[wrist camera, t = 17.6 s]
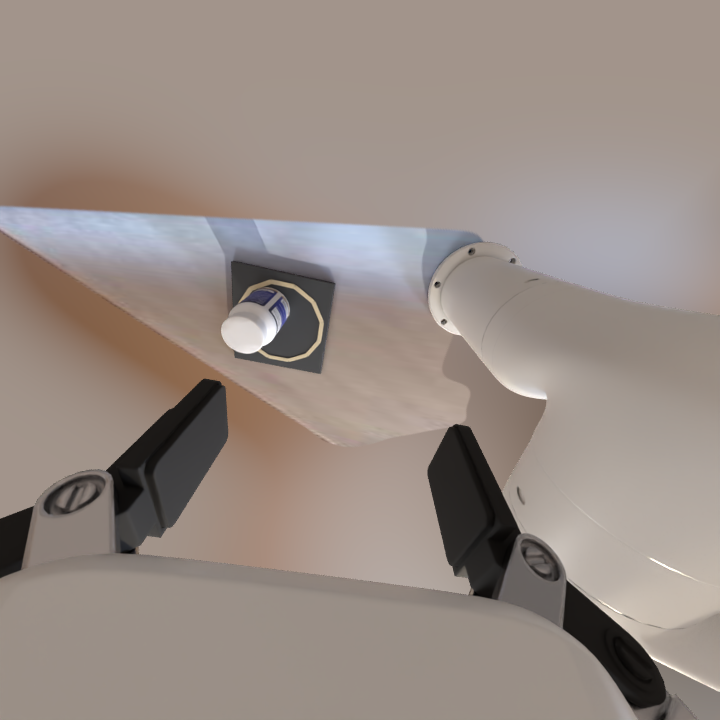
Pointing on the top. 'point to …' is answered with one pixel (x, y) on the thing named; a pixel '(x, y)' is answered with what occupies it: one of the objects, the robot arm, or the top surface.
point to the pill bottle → (255, 320)
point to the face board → (305, 321)
